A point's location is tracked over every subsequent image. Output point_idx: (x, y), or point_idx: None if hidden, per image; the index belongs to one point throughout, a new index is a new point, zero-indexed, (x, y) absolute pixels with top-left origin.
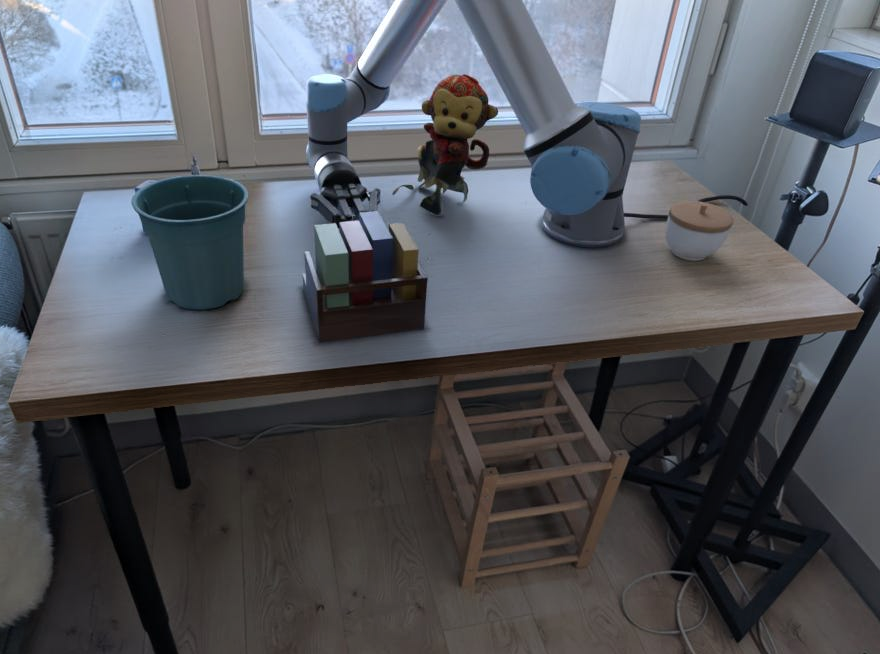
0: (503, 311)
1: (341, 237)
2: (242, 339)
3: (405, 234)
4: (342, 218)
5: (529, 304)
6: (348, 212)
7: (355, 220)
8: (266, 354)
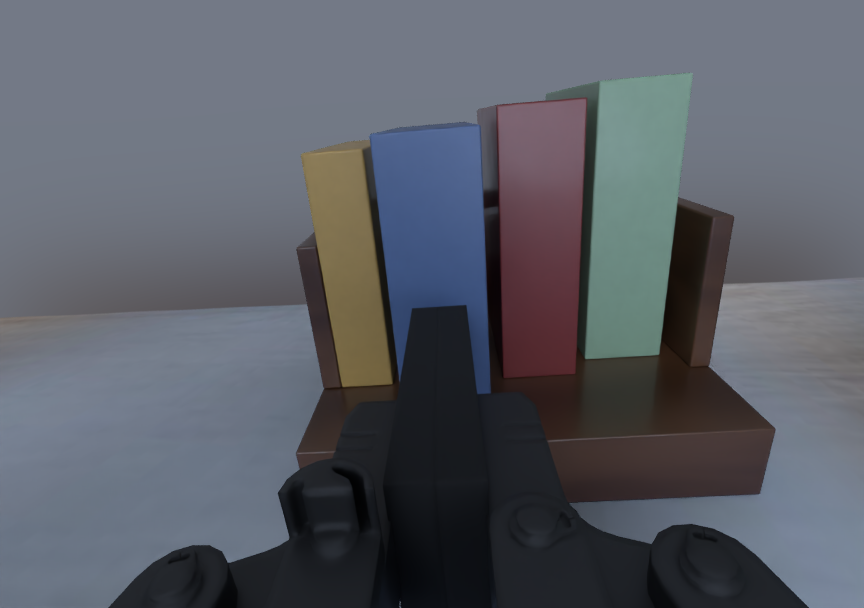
0: (156, 361)
1: (568, 88)
2: (820, 331)
3: (341, 145)
4: (618, 541)
5: (73, 373)
6: (539, 600)
7: (474, 408)
8: (724, 306)
